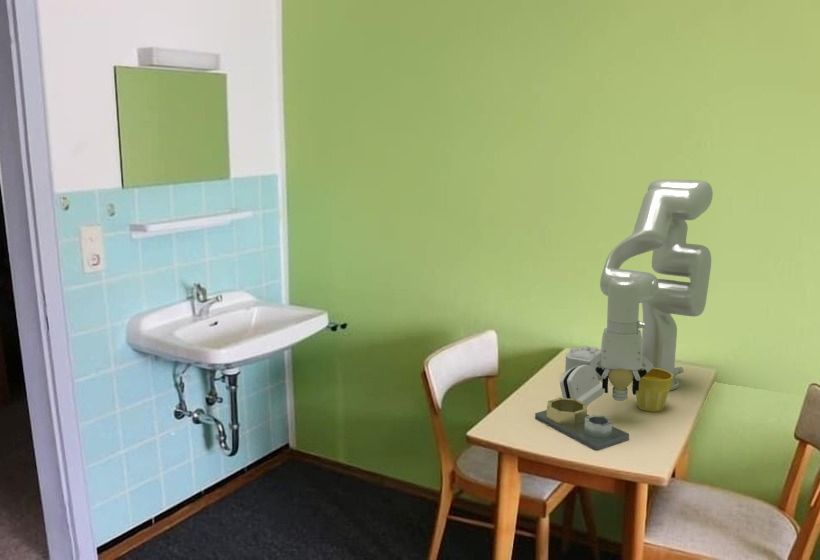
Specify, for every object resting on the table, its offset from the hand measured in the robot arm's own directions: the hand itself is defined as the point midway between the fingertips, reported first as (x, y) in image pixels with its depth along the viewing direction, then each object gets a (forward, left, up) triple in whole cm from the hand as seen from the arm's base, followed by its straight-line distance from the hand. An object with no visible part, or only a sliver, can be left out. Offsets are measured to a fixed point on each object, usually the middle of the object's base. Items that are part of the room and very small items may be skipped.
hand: (620, 391), depth 180 cm
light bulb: (0, 0, -2) cm, 2 cm away
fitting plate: (+12, -2, -8) cm, 14 cm away
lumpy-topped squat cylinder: (-17, -29, -8) cm, 34 cm away
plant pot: (-14, -2, -8) cm, 16 cm away
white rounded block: (-3, -17, -8) cm, 19 cm away
